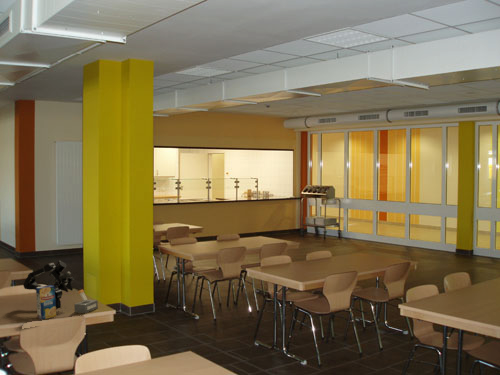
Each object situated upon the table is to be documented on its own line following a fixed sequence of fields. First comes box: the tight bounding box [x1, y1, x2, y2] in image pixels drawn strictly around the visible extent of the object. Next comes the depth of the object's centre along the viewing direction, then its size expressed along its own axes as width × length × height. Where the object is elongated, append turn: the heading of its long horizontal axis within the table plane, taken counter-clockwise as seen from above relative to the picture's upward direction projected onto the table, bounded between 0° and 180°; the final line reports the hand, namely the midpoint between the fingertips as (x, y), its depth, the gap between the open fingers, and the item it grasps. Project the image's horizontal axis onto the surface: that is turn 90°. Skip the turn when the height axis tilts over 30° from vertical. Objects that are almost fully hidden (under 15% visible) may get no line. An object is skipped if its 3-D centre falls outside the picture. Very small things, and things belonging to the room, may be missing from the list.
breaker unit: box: [73, 299, 99, 314], centre depth 395 cm, size 10×14×6 cm
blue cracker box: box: [35, 284, 57, 320], centre depth 380 cm, size 7×11×22 cm, turn 134°
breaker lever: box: [77, 289, 88, 301], centre depth 395 cm, size 2×4×8 cm
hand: (70, 291), depth 400 cm, fingers open, 4 cm apart
